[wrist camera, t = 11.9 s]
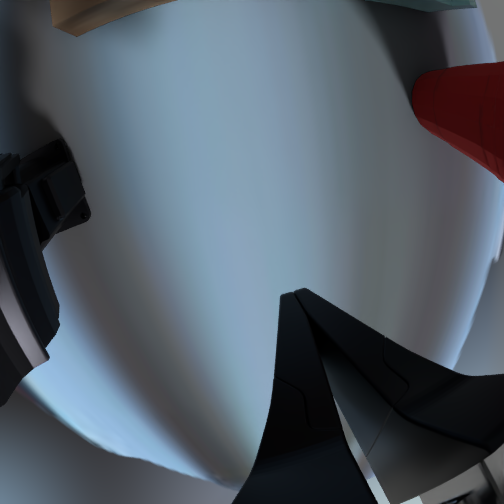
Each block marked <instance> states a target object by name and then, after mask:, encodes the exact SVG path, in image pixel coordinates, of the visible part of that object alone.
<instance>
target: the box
mask: <svg viewBox="0 0 504 504" xmlns="http://www.w3.org/2000/svg"><path fill="white" fill-rule="evenodd" d="M367 1H374V2H381V3H387V4H393V5H398V6H403V7H408V8H412V9H417V10H421V11H425V12H435V11H443V10H452V9H465V8H477V6H476V2H475V0H367Z"/></svg>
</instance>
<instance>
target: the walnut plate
mask: <svg viewBox="0 0 504 504" xmlns="http://www.w3.org/2000/svg"><path fill="white" fill-rule="evenodd" d="M172 1H176V0H50V8H51V16H52V24H53V27H55V28H58V29H60V30H62V31H65V32H67V33H69V34H72V35H74V36H76V37H77V36H79V35H82V34H84V33H86V32H88V31H90V30H92V29H95V28H97V27H99V26H101V25H104V24H106V23H109V22H111V21H114V20H116V19H119V18H122V17H124V16H127V15H130V14H133V13H135V12H138V11H141V10H145V9H148V8H151V7H154V6H158V5H161V4H165V3H169V2H172Z"/></svg>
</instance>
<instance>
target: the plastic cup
mask: <svg viewBox="0 0 504 504" xmlns="http://www.w3.org/2000/svg"><path fill="white" fill-rule="evenodd" d="M412 105H413V109H414V113H415V116H416V117H417V119H418V121H419V123H420V124H421V125H422V126H423V127H424V128H426V129H427V130H428V131H429V132H431V133H432V134H433V135H435V136H437V137H439V138H441V139H442V140H444V141H446V142H448V143H449V144H450V145H451V146H452V147H454V148H455V149H457V150H459V151H460V152H462V153H463V154H465V155H467V156H468V157H470V158H471V159H473V160H474V161H476V162H477V163H479V164H480V165H481V166H483V167H484V168H486V169H487V170H489V171H490V172H491V173H493V174H494V175H495V176H496V177H497V178H498V179H499V180H500V181H502V182H503V183H504V61H503V62H497V63H483V64H473V65H463V66H456V67H451V68H446V69H441V70H434V71H430V72H426V73H425V74H422V75H421V76H420V77H419V78H418V79H417V80H416V82H415V85H414V88H413V91H412Z"/></svg>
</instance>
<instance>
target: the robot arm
mask: <svg viewBox="0 0 504 504" xmlns="http://www.w3.org/2000/svg"><path fill="white" fill-rule="evenodd" d="M57 143H58V144H59V145H60V149H57V147H56V145H57ZM84 195H85V191H84V188H83V186H82V183H81V180H80V178H79V175H78V172H77V170H76V167H75V164H74V162H72V161H71V160H70V157H69V154H68V151H67V148H66V145H65V142H64V141H63V140H62V139H57V140H55V141H53V142H51V143H49V144H47V145H45V146H44V147H42V148H40V149H38V150H36V151H35V152H33V153H31V154H29V155H28V156H26V157H24V158H23V159H21V160H20V157H19V153H18V154H14V155H11V153H8V154H0V407H1V406H2V405H4V404H5V403H6V402H7V401H8V399H9V397H10V396H11V394H12V393H13V391H14V390H15V388H16V386H17V385H18V384H19V382H20V381H21V380H22V379H23V377H25V376H26V375H27V374H28V373H29V372H30V371H31V370H33V369H34V368H35V367H37V366H39V365H41V364H42V363H44V362H46V361H48V360H49V358H50V356H49V354H48V352H47V351H46V349H45V348H46V347H47V345H48V344H49V343H50V341H51V340H52V339H53V338H54V336H55V335H56V333H57V331H58V328H59V326H60V323H59V320H58V318H59V302H58V300H57V297H56V294H55V291H54V289H53V286H52V283H51V280H50V277H49V273H48V270H47V267H46V264H45V260H44V257H43V253H42V251H43V250H44V248H45V247H46V246H47V244H48V243H49V242H50V240H51V239H52V238H53V236H54V235H55V234H57V233H59V232H62V231H64V230H67V229H69V228H72V227H74V226H77V225H79V224H82V223H84V222H87V221H88V220H89V218H90V217H91V211H90V209H89V207H88V204H87V202H86V199H85V197H84ZM82 213H85V214H86V216H87V217H84V216H83V215H82ZM333 396H334V398H335V400H336V402H337V404H338V405H339V407H340V409H341V411H342V413H343V415H344V417H345V419H346V421H347V422H348V424H349V426H350V428H351V430H352V432H353V434H354V436H355V438H356V440H357V441H358V443H359V445H360V447H361V449H362V451H363V453H364V455H365V457H367V458H366V459H367V461H368V463H369V464H370V466H371V468H372V470H373V472H374V474H375V476H376V478H377V480H378V482H379V483H380V485H381V487H382V489H383V491H384V493H385V495H386V497H387V499H388V501H389V502H390V504H400V503H403V502H405V501H407V500H410V499H412V498H414V497H417V496H420V498H421V500H422V503H423V504H504V374H496V375H484V376H468V375H464V374H460V373H457V372H455V371H453V370H450V369H448V368H446V367H444V366H441V365H439V364H437V363H435V362H433V361H430V360H428V359H426V358H424V357H422V356H420V355H418V354H416V353H414V352H411V351H409V350H408V349H406V348H404V347H402V346H401V345H399V344H397V343H395V342H394V341H392V340H390V339H389V338H387V337H385V336H384V335H382V334H380V333H379V332H377V331H375V330H374V329H372V328H371V327H369V326H367V325H366V324H364V323H362V322H361V321H359V320H358V319H356V318H354V317H353V316H351V315H349V314H348V313H346V312H344V311H343V310H341V309H340V308H338V307H336V306H335V305H333V304H331V303H330V302H328V301H327V300H325V299H323V298H322V297H320V296H318V295H317V294H315V293H313V292H312V291H310V290H309V289H307V288H302V289H298V290H295V291H294V292H288V293H285V294H282V295H281V296H280V305H279V319H278V333H277V346H276V358H275V370H274V379H273V390H272V397H271V404H270V409H269V413H268V418H267V422H266V425H265V429H264V432H263V436H262V439H261V443H260V446H259V450H258V453H257V456H256V459H255V462H254V465H253V468H252V470H251V472H250V474H249V477H248V478H247V480H246V481H245V483H244V485H243V486H242V488H241V489H240V491H239V493H238V494H237V496H236V497H235V499H234V500H233V502H232V503H231V504H378V502H377V500H376V499H375V497H374V495H373V493H372V491H371V489H370V487H369V485H368V483H367V481H366V479H365V477H364V475H363V473H362V472H361V470H360V468H359V466H358V464H357V462H356V460H355V458H354V456H353V454H352V452H351V450H350V448H349V446H348V443H347V441H346V438H345V435H344V431H343V428H342V424H341V421H340V417H339V414H338V411H337V407H336V404H335V401H334V398H333Z"/></svg>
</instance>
